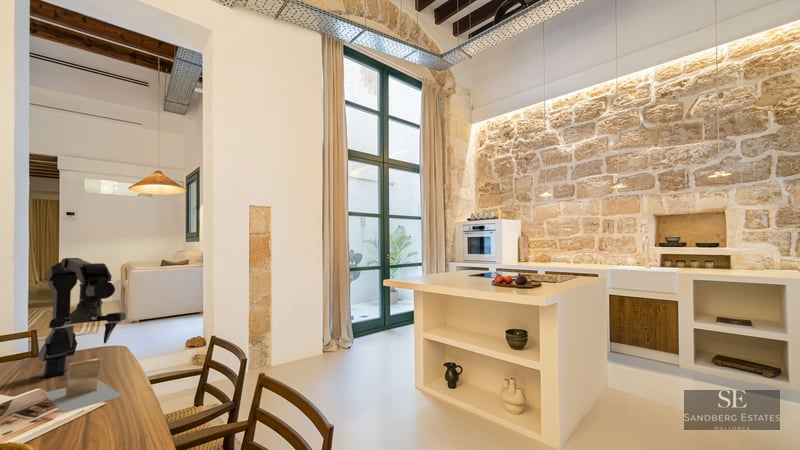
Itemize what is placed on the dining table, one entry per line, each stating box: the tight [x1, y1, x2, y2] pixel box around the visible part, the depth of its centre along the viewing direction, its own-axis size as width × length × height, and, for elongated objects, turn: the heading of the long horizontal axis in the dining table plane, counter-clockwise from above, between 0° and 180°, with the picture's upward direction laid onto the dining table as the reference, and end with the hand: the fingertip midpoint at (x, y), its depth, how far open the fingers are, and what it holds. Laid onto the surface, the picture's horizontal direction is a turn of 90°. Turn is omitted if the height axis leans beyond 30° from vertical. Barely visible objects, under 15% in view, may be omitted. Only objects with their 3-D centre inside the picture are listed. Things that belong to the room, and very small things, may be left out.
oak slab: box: [65, 358, 101, 398], centre depth 108 cm, size 3×7×10 cm, turn 148°
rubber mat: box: [45, 379, 124, 414], centre depth 106 cm, size 22×14×1 cm, turn 58°
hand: (87, 345), depth 112 cm, fingers open, 9 cm apart
